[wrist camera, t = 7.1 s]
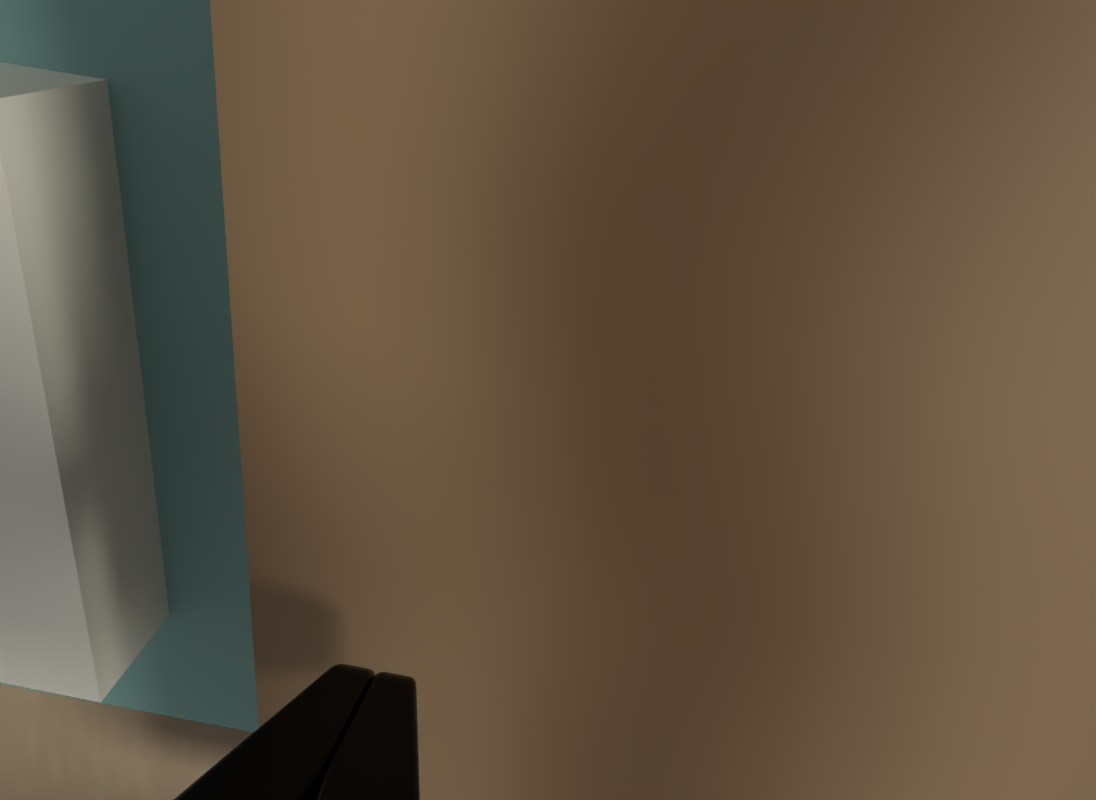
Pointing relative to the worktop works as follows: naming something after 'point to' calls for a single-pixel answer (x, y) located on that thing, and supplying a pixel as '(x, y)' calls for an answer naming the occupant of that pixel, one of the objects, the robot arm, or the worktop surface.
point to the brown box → (675, 386)
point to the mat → (171, 330)
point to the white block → (70, 399)
